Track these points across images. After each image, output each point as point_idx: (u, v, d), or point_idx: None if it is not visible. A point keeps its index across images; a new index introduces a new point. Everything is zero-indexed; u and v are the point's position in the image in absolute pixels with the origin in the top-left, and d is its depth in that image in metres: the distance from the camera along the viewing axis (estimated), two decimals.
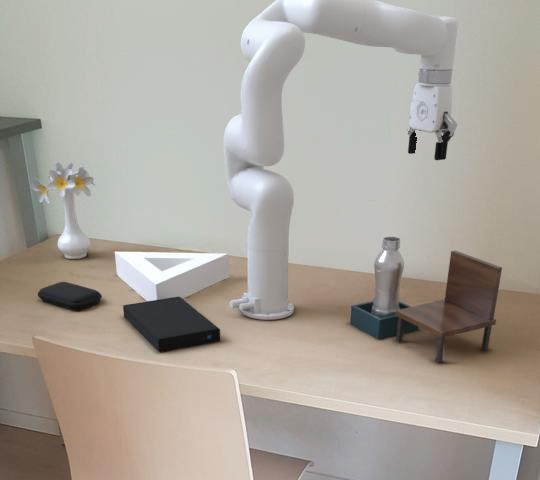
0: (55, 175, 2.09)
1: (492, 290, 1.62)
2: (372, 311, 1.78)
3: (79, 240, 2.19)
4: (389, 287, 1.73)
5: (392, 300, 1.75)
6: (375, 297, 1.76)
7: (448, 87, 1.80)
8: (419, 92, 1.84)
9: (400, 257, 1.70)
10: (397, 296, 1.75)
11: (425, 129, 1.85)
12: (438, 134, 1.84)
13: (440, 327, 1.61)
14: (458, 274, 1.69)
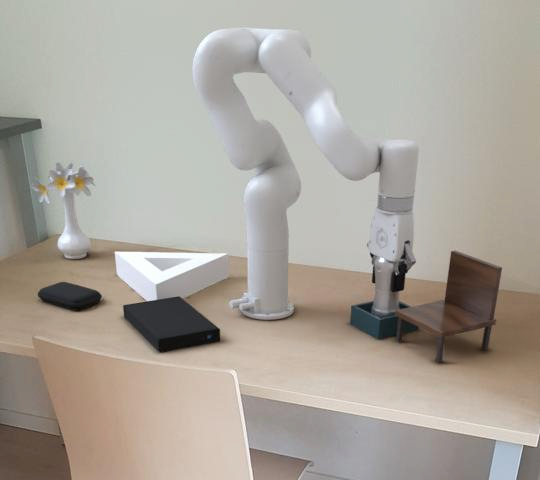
0: (55, 175, 2.09)
1: (492, 290, 1.62)
2: (372, 311, 1.78)
3: (79, 240, 2.19)
4: (389, 287, 1.73)
5: (392, 300, 1.74)
6: (375, 297, 1.76)
7: (409, 215, 1.64)
8: (378, 218, 1.67)
9: None
10: (397, 296, 1.75)
11: (385, 257, 1.69)
12: (396, 266, 1.69)
13: (440, 327, 1.61)
14: (458, 274, 1.69)
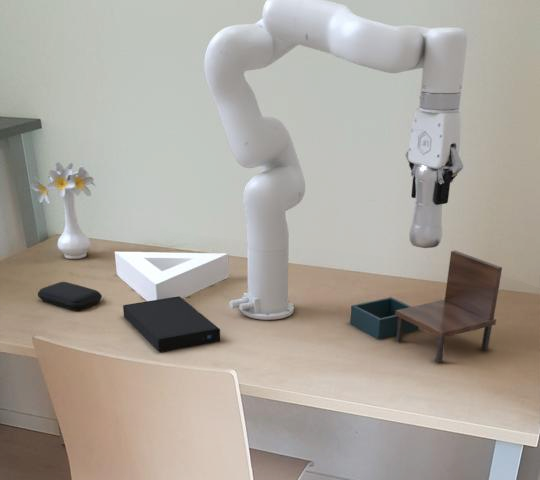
0: (55, 175, 2.09)
1: (492, 290, 1.62)
2: (412, 228, 1.61)
3: (79, 240, 2.19)
4: (432, 199, 1.56)
5: (434, 215, 1.58)
6: (415, 212, 1.59)
7: (456, 114, 1.47)
8: (420, 119, 1.51)
9: None
10: (440, 210, 1.59)
11: (428, 164, 1.52)
12: (440, 173, 1.52)
13: (440, 327, 1.61)
14: (458, 274, 1.69)
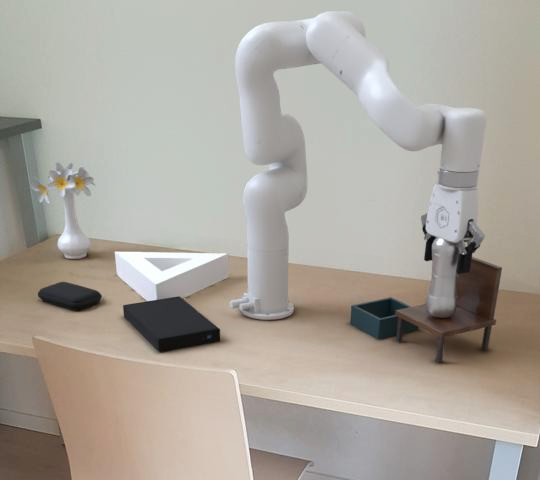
0: (55, 175, 2.09)
1: (492, 290, 1.62)
2: (428, 299, 1.64)
3: (79, 240, 2.19)
4: (448, 272, 1.59)
5: (450, 287, 1.61)
6: (432, 283, 1.62)
7: (474, 191, 1.50)
8: (439, 194, 1.54)
9: None
10: (456, 282, 1.62)
11: (446, 238, 1.55)
12: (461, 245, 1.54)
13: (440, 327, 1.61)
14: (458, 274, 1.69)
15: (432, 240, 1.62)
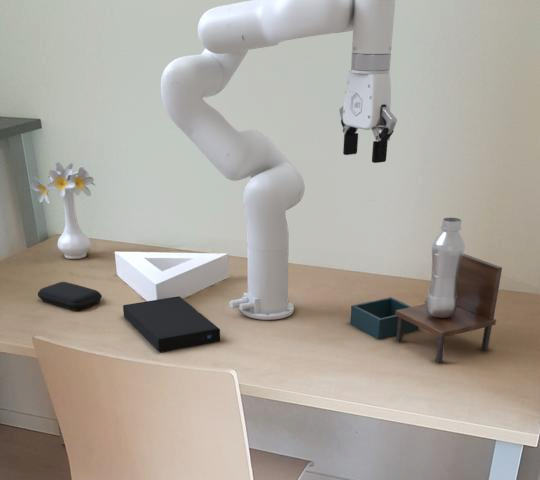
0: (55, 175, 2.09)
1: (492, 290, 1.62)
2: (428, 299, 1.64)
3: (79, 240, 2.19)
4: (448, 272, 1.59)
5: (450, 287, 1.61)
6: (432, 283, 1.62)
7: (385, 75, 1.50)
8: (352, 81, 1.54)
9: (461, 239, 1.57)
10: (456, 282, 1.62)
11: (360, 126, 1.55)
12: (375, 132, 1.54)
13: (440, 327, 1.61)
14: (458, 274, 1.69)
15: (350, 133, 1.62)
